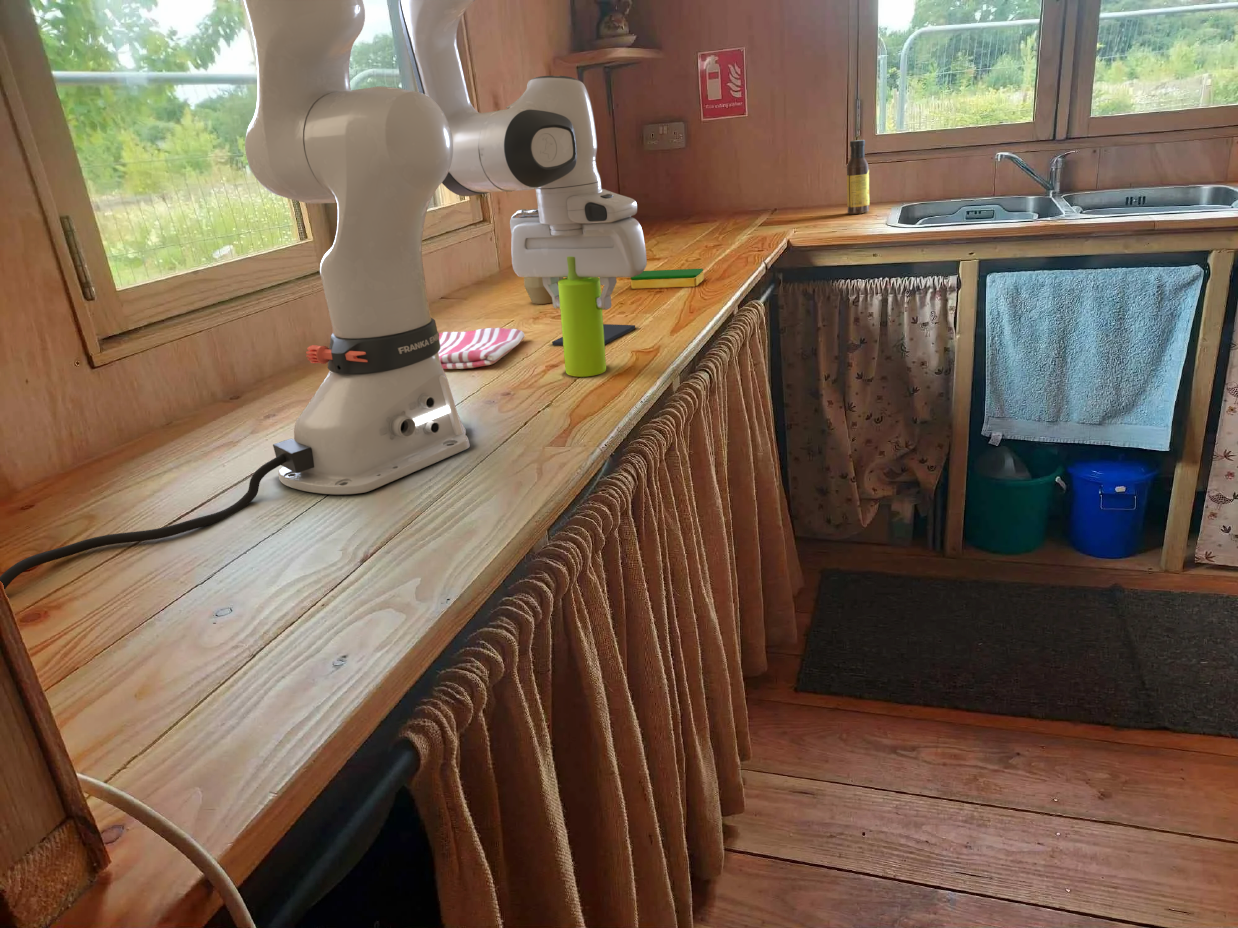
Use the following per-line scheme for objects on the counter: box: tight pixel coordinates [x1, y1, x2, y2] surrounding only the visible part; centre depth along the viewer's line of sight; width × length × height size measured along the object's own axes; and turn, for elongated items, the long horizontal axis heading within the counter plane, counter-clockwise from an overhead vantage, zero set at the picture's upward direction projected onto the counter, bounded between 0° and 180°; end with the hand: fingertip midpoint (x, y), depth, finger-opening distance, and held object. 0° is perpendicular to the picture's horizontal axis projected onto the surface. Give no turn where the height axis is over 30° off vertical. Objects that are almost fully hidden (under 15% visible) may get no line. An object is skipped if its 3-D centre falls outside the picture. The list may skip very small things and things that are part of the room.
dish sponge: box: [630, 268, 705, 290], centre depth 180 cm, size 7×14×2 cm, turn 72°
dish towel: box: [438, 327, 525, 370], centre depth 141 cm, size 17×23×4 cm
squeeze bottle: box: [523, 277, 564, 305], centre depth 173 cm, size 8×8×18 cm
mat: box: [551, 323, 636, 347], centre depth 145 cm, size 12×9×1 cm
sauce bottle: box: [846, 139, 871, 215], centre depth 249 cm, size 6×6×20 cm
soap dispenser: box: [558, 257, 607, 378], centre depth 122 cm, size 6×7×20 cm
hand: (582, 308), depth 123 cm, fingers closed on soap dispenser, 6 cm apart
